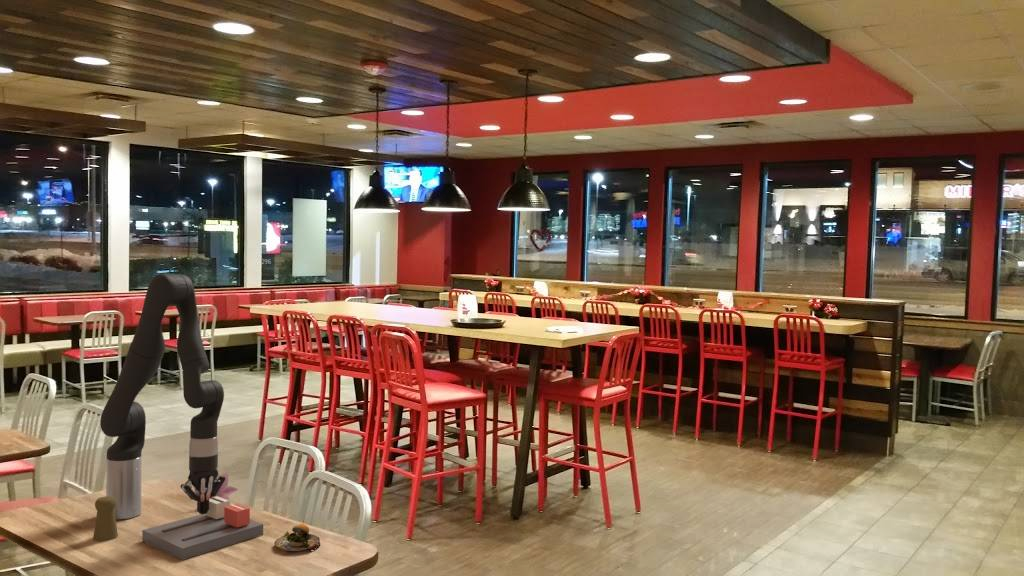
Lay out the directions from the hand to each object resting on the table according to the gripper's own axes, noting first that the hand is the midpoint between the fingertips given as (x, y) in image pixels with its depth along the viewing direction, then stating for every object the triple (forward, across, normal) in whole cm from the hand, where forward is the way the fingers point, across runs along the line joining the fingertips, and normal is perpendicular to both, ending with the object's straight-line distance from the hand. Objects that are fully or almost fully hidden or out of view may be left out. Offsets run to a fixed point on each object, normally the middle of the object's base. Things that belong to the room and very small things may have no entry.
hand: (202, 513), depth 222 cm
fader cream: (+2, -4, 0) cm, 5 cm away
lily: (+5, -14, -16) cm, 22 cm away
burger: (+5, -10, +29) cm, 31 cm away
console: (+5, +3, +5) cm, 8 cm away
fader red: (+2, -4, +10) cm, 11 cm away
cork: (+5, +20, -15) cm, 25 cm away
